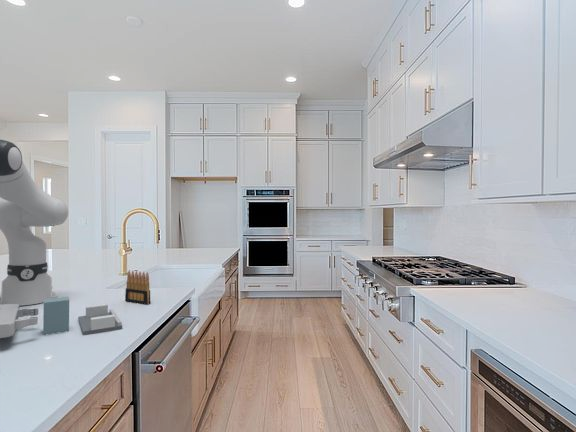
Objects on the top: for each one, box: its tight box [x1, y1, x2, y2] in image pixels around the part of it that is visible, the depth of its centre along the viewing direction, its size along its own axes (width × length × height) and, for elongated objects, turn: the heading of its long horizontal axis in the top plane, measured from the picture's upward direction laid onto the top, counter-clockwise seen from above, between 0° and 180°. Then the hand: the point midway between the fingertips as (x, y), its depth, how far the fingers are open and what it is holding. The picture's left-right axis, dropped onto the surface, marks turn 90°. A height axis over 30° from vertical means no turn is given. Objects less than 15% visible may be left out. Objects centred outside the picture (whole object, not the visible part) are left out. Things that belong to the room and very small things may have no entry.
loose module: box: [42, 296, 70, 336], centre depth 98 cm, size 4×6×9 cm
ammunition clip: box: [124, 270, 151, 306], centre depth 130 cm, size 11×2×12 cm, turn 69°
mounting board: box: [77, 303, 123, 336], centre depth 105 cm, size 16×10×4 cm, turn 35°
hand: (38, 315), depth 96 cm, fingers open, 8 cm apart
